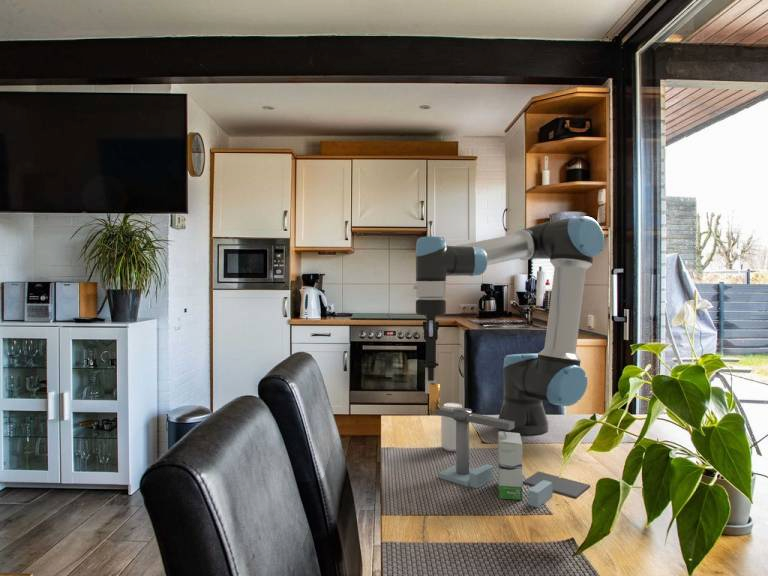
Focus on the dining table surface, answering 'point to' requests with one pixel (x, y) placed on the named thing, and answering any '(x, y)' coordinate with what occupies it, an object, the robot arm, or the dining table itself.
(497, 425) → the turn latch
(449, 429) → the beverage can
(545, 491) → the stand
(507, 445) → the ink box
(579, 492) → the pad
